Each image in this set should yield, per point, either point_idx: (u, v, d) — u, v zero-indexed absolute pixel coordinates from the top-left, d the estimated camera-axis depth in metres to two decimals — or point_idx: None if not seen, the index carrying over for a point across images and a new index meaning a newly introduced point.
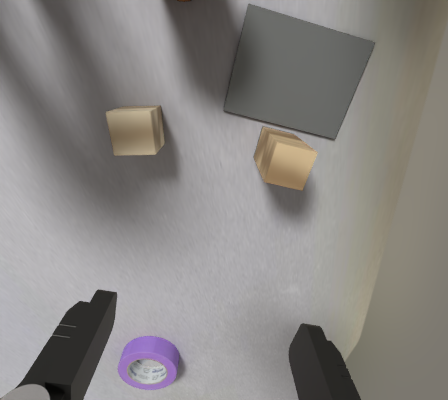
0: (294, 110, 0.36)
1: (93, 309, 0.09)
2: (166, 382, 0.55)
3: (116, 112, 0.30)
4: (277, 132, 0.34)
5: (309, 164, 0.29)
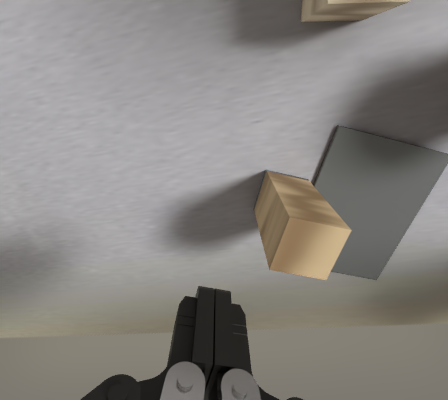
0: None
1: (203, 302, 0.11)
2: None
3: None
4: None
5: (310, 273, 0.20)
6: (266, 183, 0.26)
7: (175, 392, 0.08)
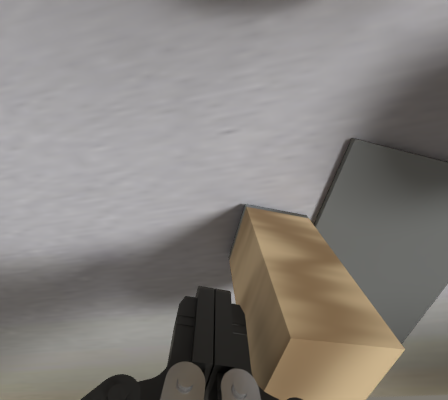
0: None
1: (203, 302, 0.11)
2: None
3: None
4: None
5: None
6: (246, 228, 0.17)
7: (175, 392, 0.08)
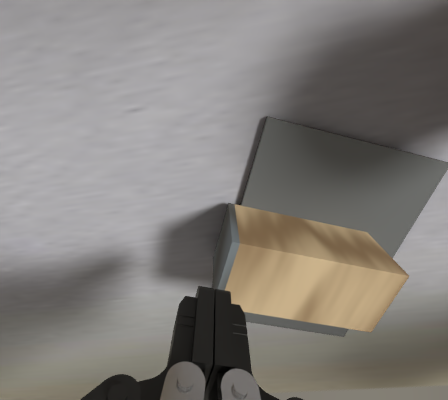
0: None
1: (203, 302, 0.11)
2: None
3: None
4: None
5: None
6: (260, 261, 0.14)
7: (175, 392, 0.08)
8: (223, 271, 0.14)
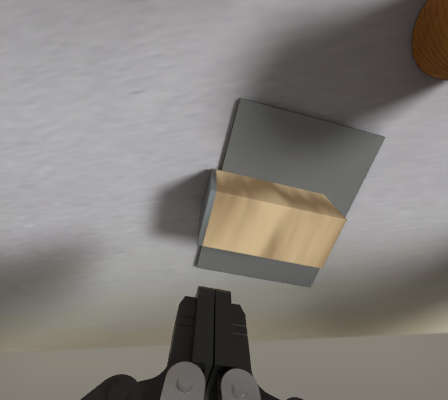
0: None
1: (203, 302, 0.11)
2: None
3: None
4: None
5: None
6: (233, 206, 0.18)
7: (175, 392, 0.08)
8: (205, 214, 0.19)
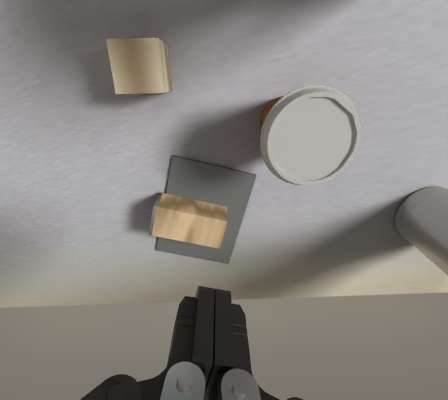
0: None
1: (203, 303, 0.11)
2: None
3: (158, 51, 0.26)
4: None
5: None
6: (165, 214, 0.35)
7: (175, 392, 0.08)
8: (151, 218, 0.35)
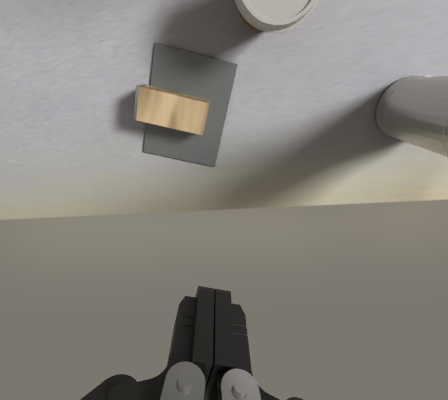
0: None
1: (203, 303, 0.11)
2: None
3: None
4: None
5: None
6: (148, 95, 0.36)
7: (175, 392, 0.08)
8: (135, 100, 0.37)
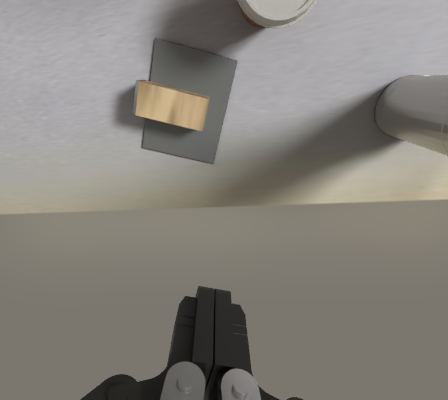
0: None
1: (203, 302, 0.11)
2: None
3: None
4: None
5: (203, 125, 0.41)
6: (148, 90, 0.36)
7: (175, 392, 0.08)
8: (134, 95, 0.37)
